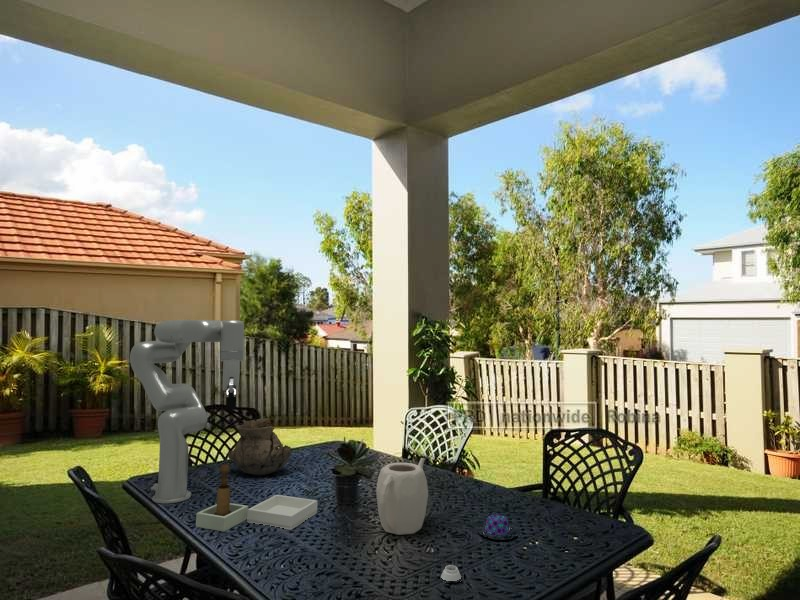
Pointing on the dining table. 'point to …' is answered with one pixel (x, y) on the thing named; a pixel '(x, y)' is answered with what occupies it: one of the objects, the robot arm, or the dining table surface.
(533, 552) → the dining table surface
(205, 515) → the box
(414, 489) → the watering can
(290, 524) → the tray
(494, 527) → the purple patterned dome
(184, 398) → the robot arm
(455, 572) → the white jar
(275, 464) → the clay pot
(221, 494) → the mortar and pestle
